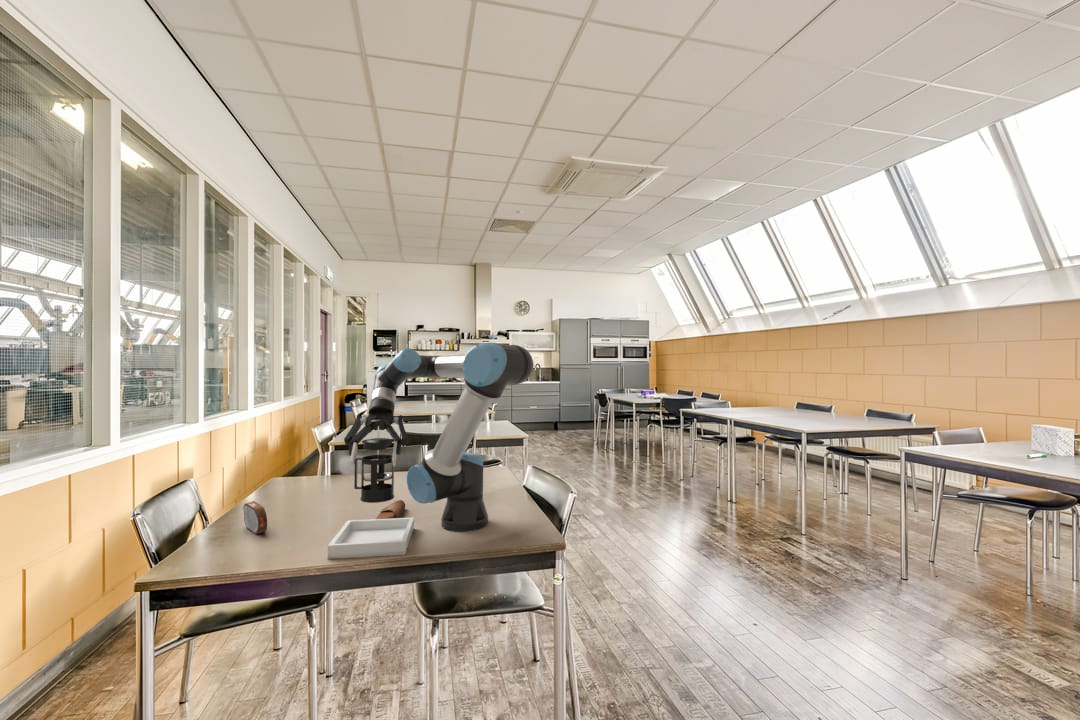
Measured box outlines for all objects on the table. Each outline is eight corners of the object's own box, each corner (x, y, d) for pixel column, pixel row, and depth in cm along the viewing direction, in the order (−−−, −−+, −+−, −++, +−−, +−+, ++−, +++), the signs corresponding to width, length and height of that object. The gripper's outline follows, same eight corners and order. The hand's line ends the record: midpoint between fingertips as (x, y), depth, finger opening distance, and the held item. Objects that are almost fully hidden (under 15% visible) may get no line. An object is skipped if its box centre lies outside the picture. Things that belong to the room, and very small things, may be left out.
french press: (399, 493, 145) (400, 417, 145) (392, 502, 135) (393, 421, 136) (359, 494, 144) (360, 417, 144) (349, 503, 134) (351, 421, 135)
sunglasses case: (380, 509, 172) (390, 493, 173) (398, 519, 173) (408, 502, 174) (371, 525, 154) (382, 507, 155) (390, 535, 155) (401, 517, 156)
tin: (268, 535, 145) (268, 507, 146) (256, 537, 143) (257, 509, 143) (252, 524, 156) (252, 498, 156) (241, 526, 153) (241, 500, 154)
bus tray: (413, 528, 151) (413, 517, 151) (405, 554, 130) (405, 541, 130) (347, 531, 148) (347, 520, 148) (327, 559, 126) (327, 545, 126)
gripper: (420, 412, 157) (415, 469, 141) (346, 413, 153) (332, 472, 138) (419, 397, 152) (413, 454, 136) (342, 397, 148) (327, 456, 132)
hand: (372, 463), depth 137 cm, fingers closed on french press, 11 cm apart
